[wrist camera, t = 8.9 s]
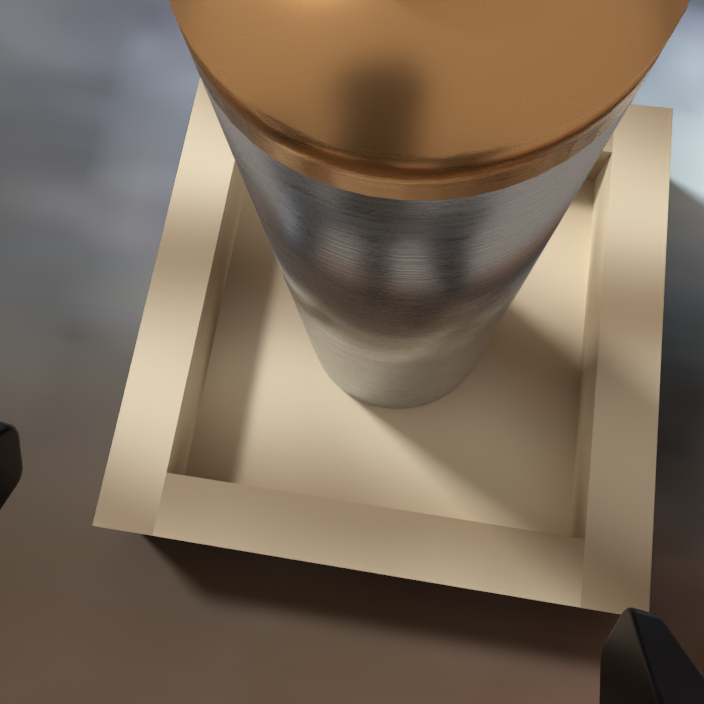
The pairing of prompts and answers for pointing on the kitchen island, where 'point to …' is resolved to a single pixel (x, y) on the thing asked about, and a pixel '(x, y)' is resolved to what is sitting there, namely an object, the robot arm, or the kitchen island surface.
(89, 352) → the kitchen island surface
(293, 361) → the shallow square beige tray
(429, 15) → the lidded storage canister
